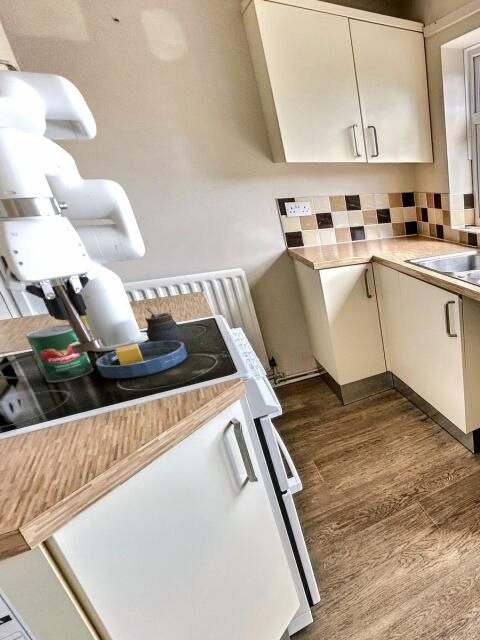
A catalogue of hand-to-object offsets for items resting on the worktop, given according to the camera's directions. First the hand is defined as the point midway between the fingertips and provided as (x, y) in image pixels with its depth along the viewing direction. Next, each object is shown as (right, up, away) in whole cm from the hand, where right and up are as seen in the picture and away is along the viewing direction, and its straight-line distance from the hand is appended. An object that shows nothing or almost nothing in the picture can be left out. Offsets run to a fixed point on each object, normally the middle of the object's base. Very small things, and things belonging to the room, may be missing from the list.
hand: (70, 316), depth 76 cm
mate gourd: (-16, -5, +40) cm, 44 cm away
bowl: (-9, -10, +26) cm, 29 cm away
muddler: (+2, -6, +1) cm, 6 cm away
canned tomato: (-23, -12, +22) cm, 34 cm away
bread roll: (-53, 0, +56) cm, 77 cm away
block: (-12, -10, +26) cm, 31 cm away
